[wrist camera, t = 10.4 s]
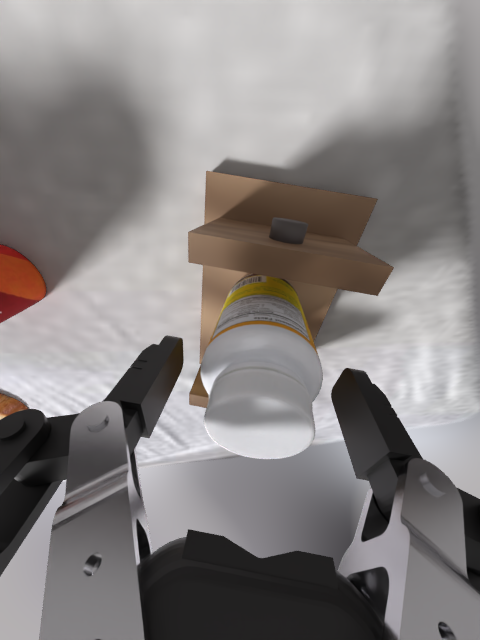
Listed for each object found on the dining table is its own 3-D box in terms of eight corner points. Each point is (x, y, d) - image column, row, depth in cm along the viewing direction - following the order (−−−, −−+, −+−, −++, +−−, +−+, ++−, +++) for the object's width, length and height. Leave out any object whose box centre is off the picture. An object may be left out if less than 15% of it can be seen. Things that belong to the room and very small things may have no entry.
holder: (210, 172, 12) (158, 151, 6) (370, 198, 12) (468, 201, 6) (202, 357, 21) (176, 419, 15) (294, 374, 21) (305, 445, 15)
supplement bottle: (274, 341, 17) (281, 483, 9) (217, 314, 17) (163, 440, 8) (313, 290, 15) (383, 424, 6) (247, 255, 14) (214, 348, 5)
